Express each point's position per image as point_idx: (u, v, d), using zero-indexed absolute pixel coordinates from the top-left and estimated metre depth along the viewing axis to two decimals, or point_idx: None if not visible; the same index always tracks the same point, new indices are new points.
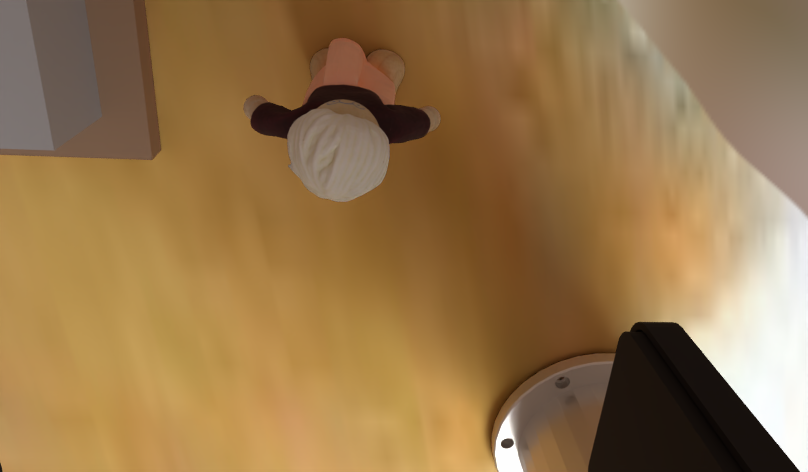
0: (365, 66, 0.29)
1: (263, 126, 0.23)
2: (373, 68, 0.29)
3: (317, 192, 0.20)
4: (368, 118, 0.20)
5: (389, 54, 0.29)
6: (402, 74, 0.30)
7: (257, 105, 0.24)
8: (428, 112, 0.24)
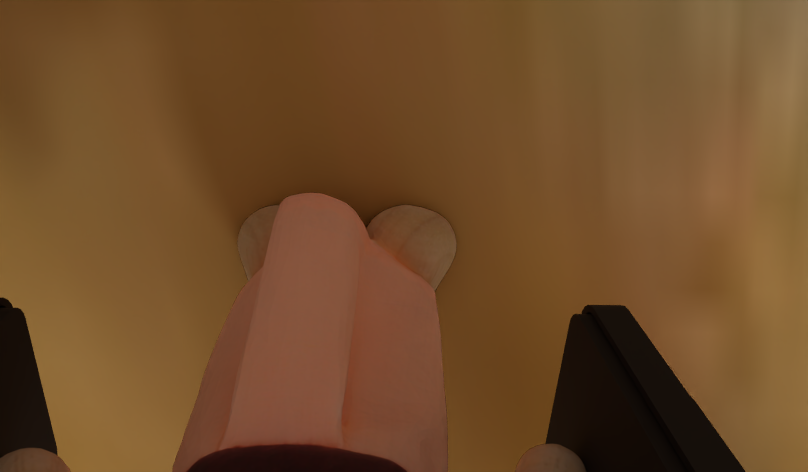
0: (366, 261, 0.12)
1: None
2: (385, 263, 0.12)
3: None
4: None
5: (423, 220, 0.12)
6: (451, 259, 0.13)
7: None
8: None
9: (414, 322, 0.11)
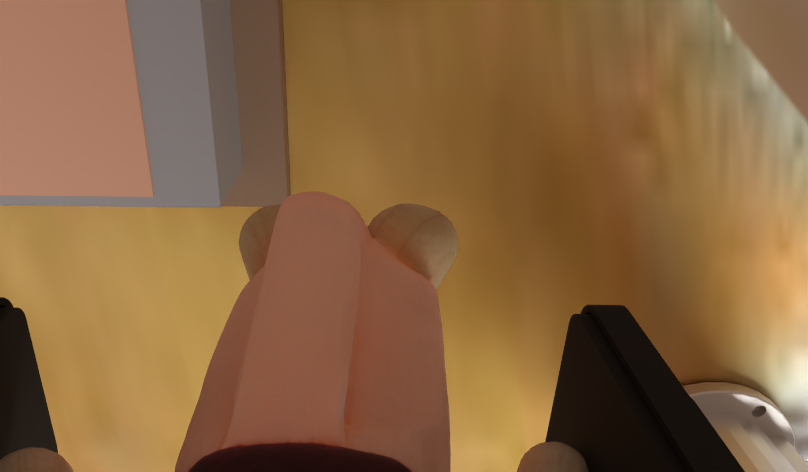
0: (367, 260, 0.12)
1: None
2: (387, 261, 0.12)
3: None
4: None
5: (425, 219, 0.12)
6: (453, 258, 0.13)
7: None
8: None
9: (416, 321, 0.11)
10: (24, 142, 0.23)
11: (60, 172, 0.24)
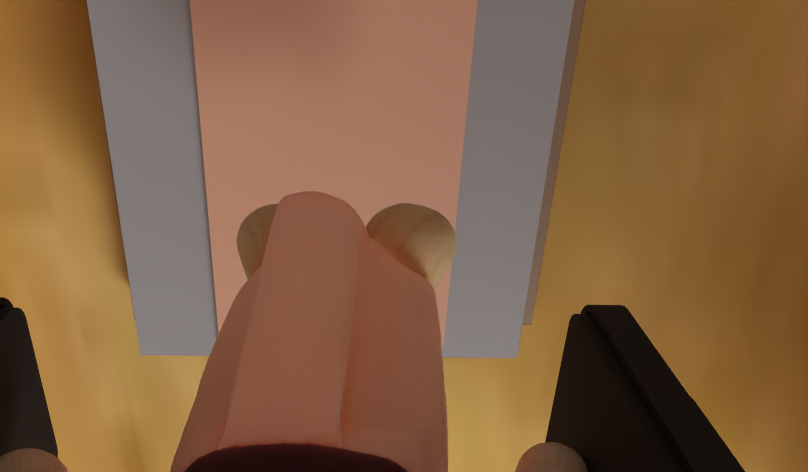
0: (365, 260, 0.12)
1: None
2: (385, 261, 0.12)
3: None
4: None
5: (423, 219, 0.12)
6: (451, 258, 0.13)
7: None
8: None
9: (414, 321, 0.11)
10: None
11: None
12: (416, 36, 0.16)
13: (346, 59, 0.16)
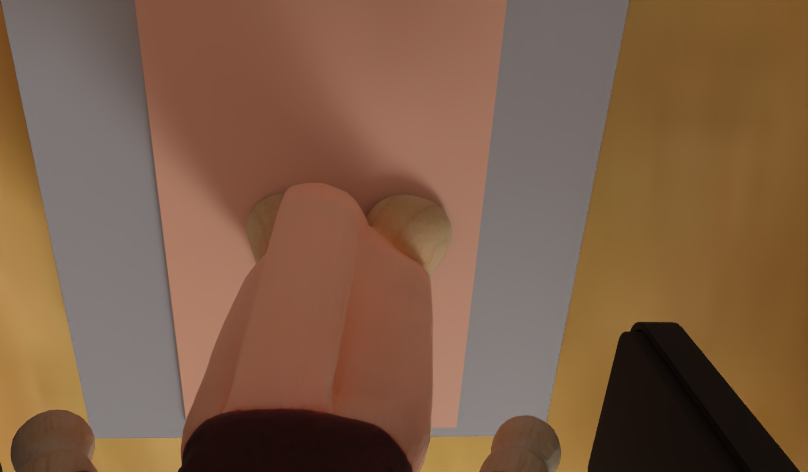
0: (364, 247, 0.12)
1: None
2: (383, 248, 0.13)
3: None
4: None
5: (420, 209, 0.13)
6: (447, 246, 0.14)
7: None
8: None
9: (407, 304, 0.12)
10: None
11: None
12: (426, 60, 0.13)
13: (338, 88, 0.13)
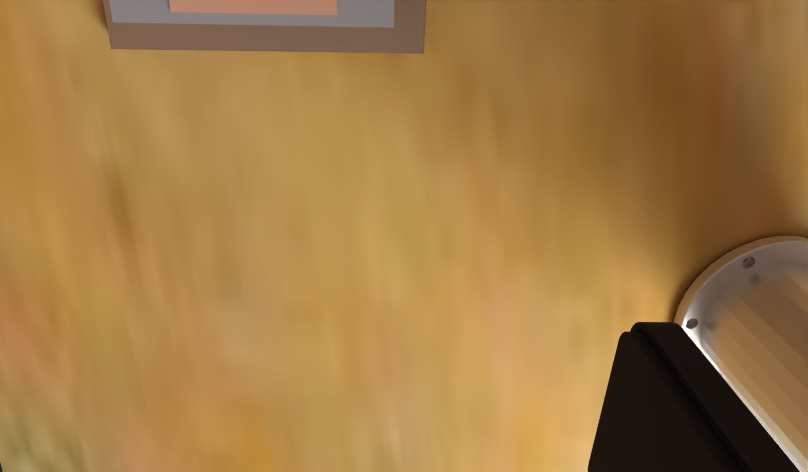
0: None
1: None
2: None
3: None
4: None
5: None
6: None
7: None
8: None
9: None
10: None
11: None
12: None
13: None
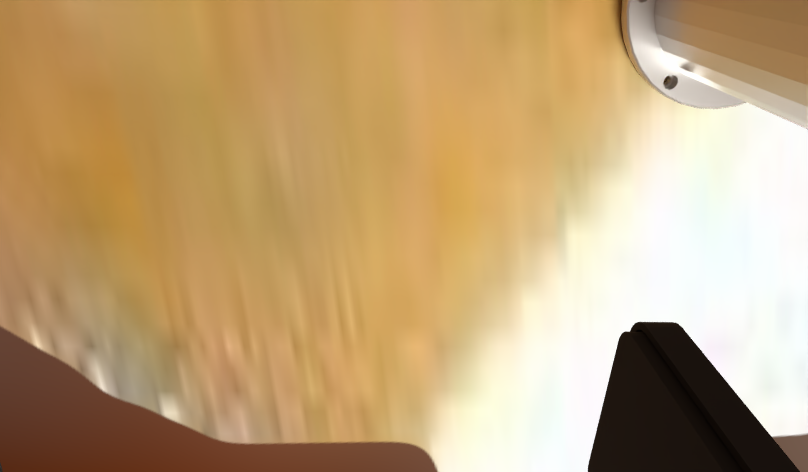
0: None
1: None
2: None
3: None
4: None
5: None
6: None
7: None
8: None
9: None
10: None
11: None
12: None
13: None
